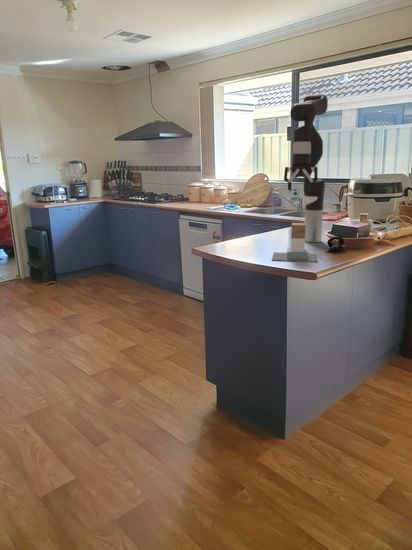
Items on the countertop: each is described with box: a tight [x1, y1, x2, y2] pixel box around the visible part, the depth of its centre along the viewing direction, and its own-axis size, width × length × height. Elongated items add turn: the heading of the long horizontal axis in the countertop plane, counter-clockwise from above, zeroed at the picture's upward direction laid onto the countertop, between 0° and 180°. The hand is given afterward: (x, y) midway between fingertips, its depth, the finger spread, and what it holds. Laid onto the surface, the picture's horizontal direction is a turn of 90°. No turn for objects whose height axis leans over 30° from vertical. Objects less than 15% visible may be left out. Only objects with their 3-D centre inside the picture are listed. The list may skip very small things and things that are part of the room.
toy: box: [325, 236, 346, 254], centre depth 211 cm, size 9×6×15 cm
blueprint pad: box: [271, 247, 319, 263], centre depth 197 cm, size 16×20×4 cm
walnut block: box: [290, 222, 306, 239], centre depth 194 cm, size 6×6×6 cm
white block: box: [290, 237, 306, 252], centre depth 196 cm, size 6×6×6 cm
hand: (300, 191), depth 190 cm, fingers open, 8 cm apart
